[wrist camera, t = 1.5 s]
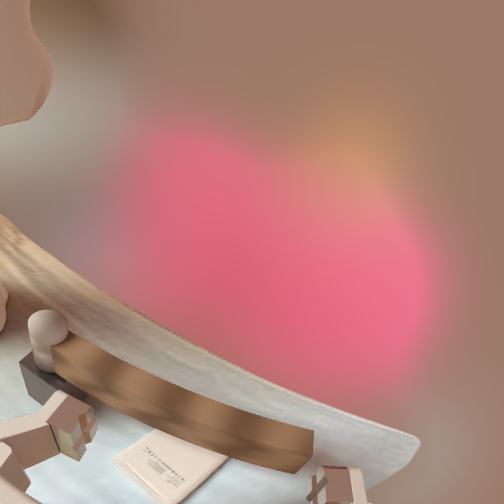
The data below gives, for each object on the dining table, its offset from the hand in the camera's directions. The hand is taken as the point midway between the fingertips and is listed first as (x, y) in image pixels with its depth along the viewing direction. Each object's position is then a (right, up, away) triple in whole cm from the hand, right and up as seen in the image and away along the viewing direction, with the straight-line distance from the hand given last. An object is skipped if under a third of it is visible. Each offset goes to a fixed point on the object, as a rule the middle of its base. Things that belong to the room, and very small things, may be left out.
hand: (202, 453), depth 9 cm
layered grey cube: (-22, -10, +20) cm, 32 cm away
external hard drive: (-7, -16, +20) cm, 26 cm away
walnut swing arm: (-8, -9, +17) cm, 21 cm away
